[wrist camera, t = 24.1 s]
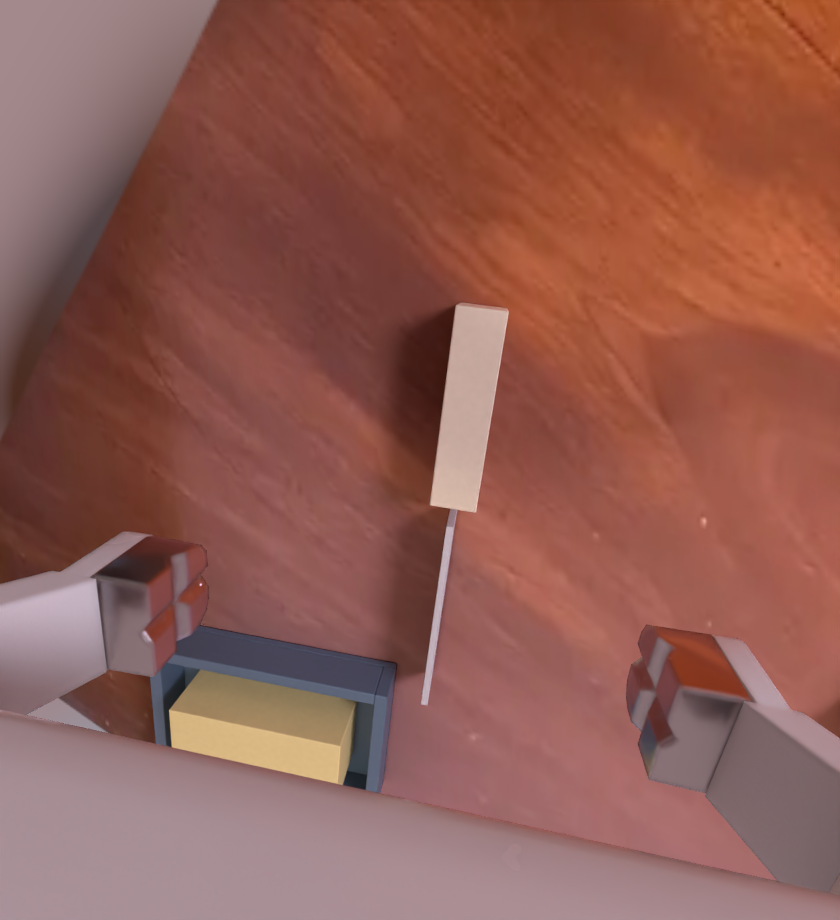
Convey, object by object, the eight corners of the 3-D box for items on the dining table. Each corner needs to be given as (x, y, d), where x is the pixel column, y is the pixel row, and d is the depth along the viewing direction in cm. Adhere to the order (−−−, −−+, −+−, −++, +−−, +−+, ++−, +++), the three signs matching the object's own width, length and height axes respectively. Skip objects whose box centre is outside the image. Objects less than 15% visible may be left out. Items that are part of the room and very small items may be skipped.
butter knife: (460, 302, 26) (455, 304, 23) (507, 308, 26) (509, 311, 23) (412, 666, 34) (404, 701, 31) (448, 673, 33) (443, 709, 31)
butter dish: (182, 736, 39) (157, 771, 36) (175, 620, 35) (146, 649, 32) (383, 780, 37) (374, 820, 34) (397, 663, 34) (387, 697, 31)
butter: (205, 720, 37) (173, 769, 33) (203, 665, 35) (168, 710, 32) (353, 751, 36) (336, 805, 32) (357, 696, 34) (340, 746, 31)
